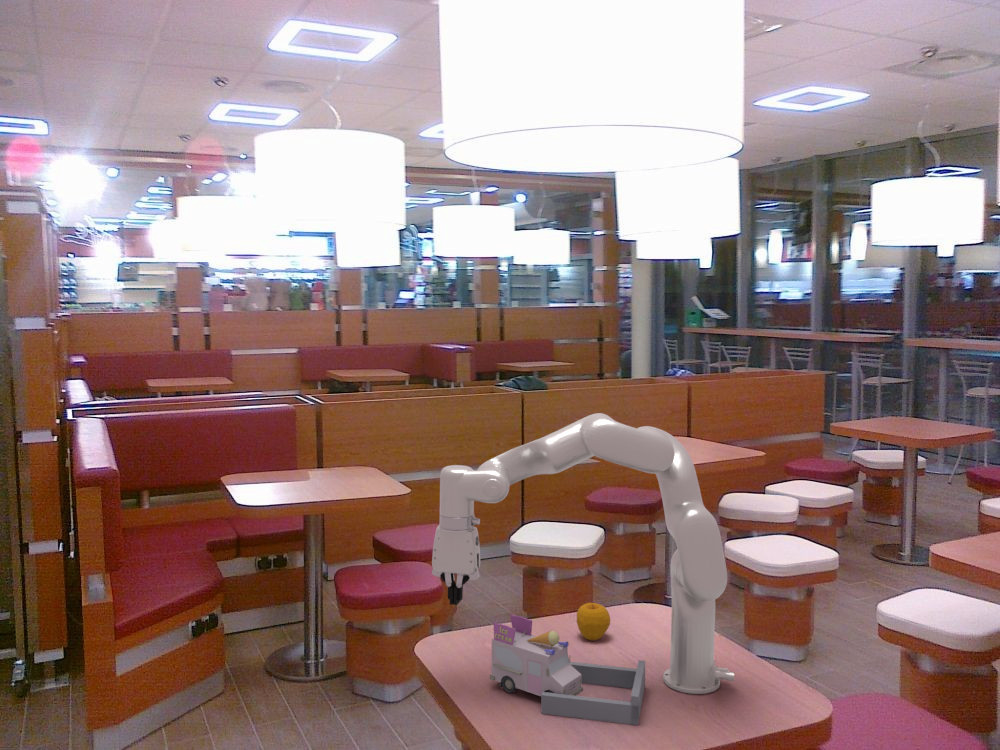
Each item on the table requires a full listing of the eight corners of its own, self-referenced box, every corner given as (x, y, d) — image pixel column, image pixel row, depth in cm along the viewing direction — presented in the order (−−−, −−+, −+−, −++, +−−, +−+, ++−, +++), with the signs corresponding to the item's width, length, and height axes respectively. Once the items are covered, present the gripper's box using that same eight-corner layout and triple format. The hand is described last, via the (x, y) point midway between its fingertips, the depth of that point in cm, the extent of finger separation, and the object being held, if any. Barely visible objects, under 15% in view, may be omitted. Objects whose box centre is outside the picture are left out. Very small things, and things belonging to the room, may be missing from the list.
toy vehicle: (561, 714, 181) (562, 644, 180) (487, 688, 193) (487, 622, 192) (584, 698, 189) (585, 631, 187) (512, 674, 201) (512, 610, 199)
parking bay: (644, 686, 194) (645, 660, 194) (637, 725, 177) (638, 696, 176) (556, 677, 199) (556, 651, 198) (541, 713, 182) (541, 685, 181)
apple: (616, 638, 222) (617, 604, 221) (594, 647, 216) (595, 612, 215) (591, 629, 228) (591, 596, 227) (569, 637, 222) (569, 603, 221)
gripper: (493, 520, 194) (491, 600, 195) (429, 515, 197) (428, 594, 199) (484, 529, 187) (483, 612, 188) (418, 523, 190) (417, 605, 192)
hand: (455, 602), depth 194 cm, fingers closed
